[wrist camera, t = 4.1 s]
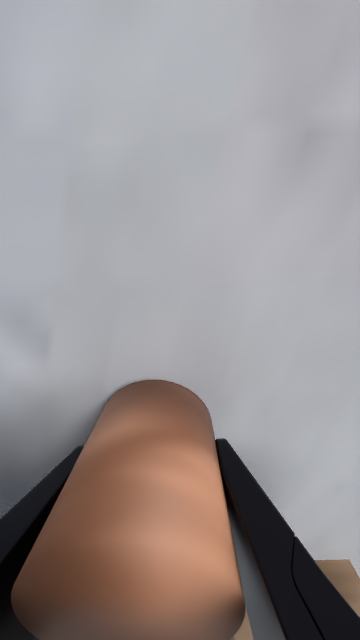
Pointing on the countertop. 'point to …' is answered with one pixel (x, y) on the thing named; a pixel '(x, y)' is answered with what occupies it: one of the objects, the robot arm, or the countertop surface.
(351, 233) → the countertop surface
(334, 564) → the tower base
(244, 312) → the countertop surface
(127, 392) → the tan dome knob
